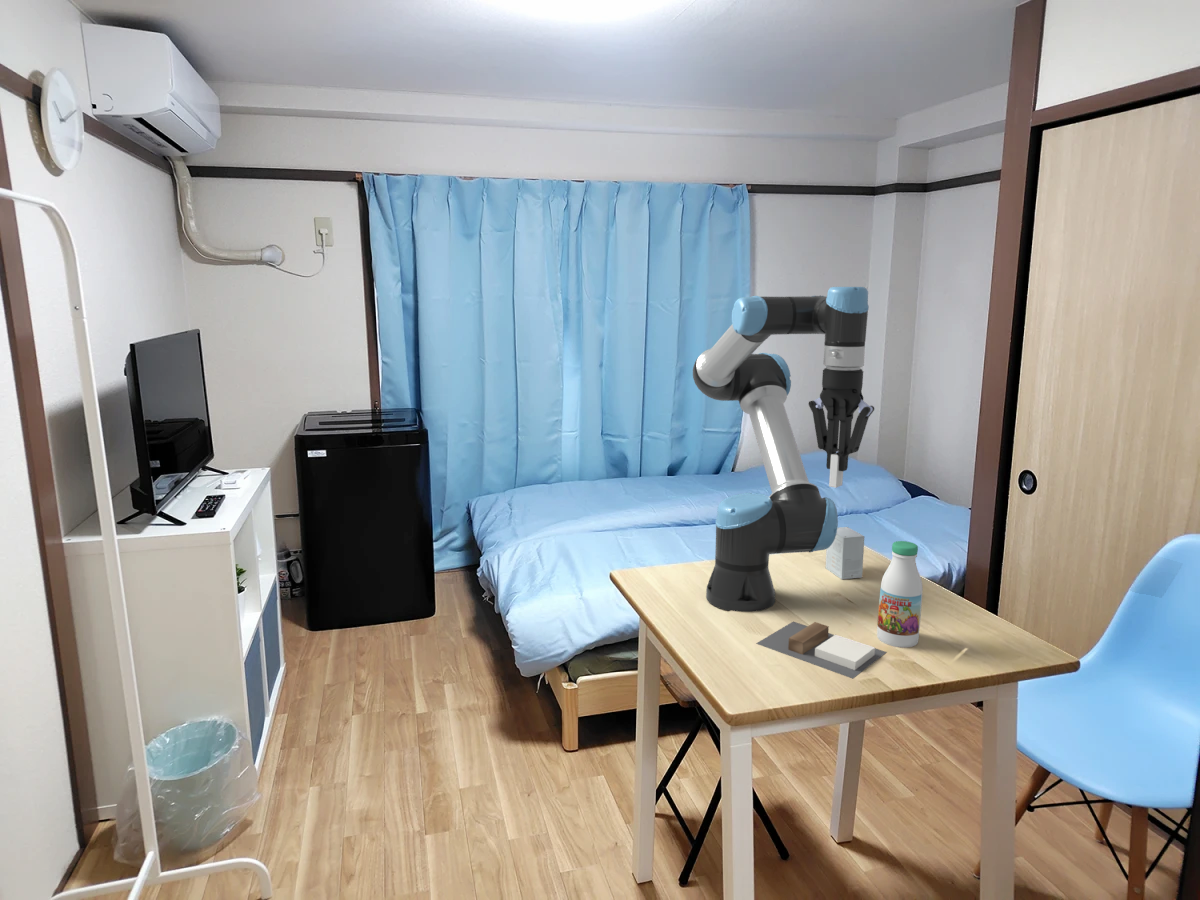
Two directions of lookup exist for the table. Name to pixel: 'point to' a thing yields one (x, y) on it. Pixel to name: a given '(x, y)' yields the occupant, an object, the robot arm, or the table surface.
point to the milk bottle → (900, 598)
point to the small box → (846, 554)
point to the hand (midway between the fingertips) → (835, 485)
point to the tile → (845, 652)
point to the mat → (811, 651)
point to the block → (808, 638)
